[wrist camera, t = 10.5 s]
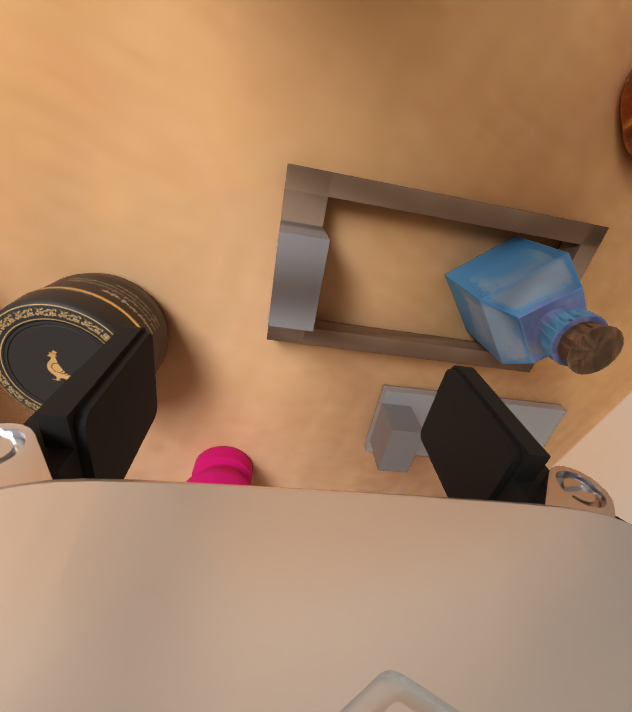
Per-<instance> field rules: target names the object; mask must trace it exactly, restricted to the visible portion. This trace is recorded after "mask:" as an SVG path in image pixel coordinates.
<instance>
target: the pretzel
mask: <svg viewBox="0 0 632 712" xmlns="http://www.w3.org/2000/svg"><path fill="white" fill-rule="evenodd" d="M620 112H621V122H622V128H623V130H622V134H623V141H624V144H625V146H626V149H627V151H628V152H629V154H630V155H631V156H632V70H631V72H630V74H629V76H628V77H627V81H626V83H625V85H624V89H623V93H622V98H621V107H620Z"/></svg>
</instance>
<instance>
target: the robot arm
mask: <svg viewBox="0 0 632 712" xmlns="http://www.w3.org/2000/svg"><path fill="white" fill-rule="evenodd" d="M156 412H157V394H156V378H155V362H154V346H153V336H152V334H151V333H147V332H146V329H145V328H142V327H134V326H126V325H123V326H121V327H120V328H119V329H118V330H117V331H116V332H115V333H114V334H113V335H112V336H111V337H110V338H109V339H108V340H107V341H106V343H105V344H104V345H103V346H102V347H101V348H100V349H99V350H98V351H97V352H96V353H95V354H94V355H93V356H92V357H91V358H90V359H89V360H88V361H87V362H86V363H85V364H84V365H83V366H81V367H80V368H78V369H77V370H76V371H75V372H74V373H73V374H72V375H71V376H70V377H69V378H68V379H67V380H66V381H65V382H64V383H63V384H62V385H61V386H60V387H59V388H58V389H57V390H56V391H55V392H54V393H53V394H52V395H51V396H50V398H49V399H48V400H47V401H46V402H45V403H44V404H43V405H42V406H41V407H40V408H39V409H38V410H37V411H36V412H35V413H34V414H33V415H32V416H31V417H30V418H29V419H28V420H27V421H26V422H25V423H24V424H23V425H22V424H15V423H2V424H0V712H632V524H630V523H627V522H625V521H624V520H622V519H620V518H619V517H617V516H615V509H614V504H613V501H612V499H611V497H610V496H609V494H608V493H607V492H606V491H605V490H604V489H603V488H602V487H601V486H600V485H599V484H598V483H597V482H595V481H594V480H593V479H591V478H590V477H588V476H586V475H585V474H583V473H581V472H579V471H576V470H574V469H572V468H568V467H564V466H555V467H553V468H551V469H550V471H549V469H548V468H547V467H546V466H545V464H546V463H547V462H548V460H549V459H550V457H551V456H550V455H549V454H548V453H547V452H546V451H545V449H544V448H543V447H542V446H541V445H540V444H539V443H538V441H537V440H536V439H535V438H534V437H533V436H532V435H531V433H530V432H529V431H528V430H527V429H526V428H525V427H524V425H523V424H522V423H521V422H520V421H519V420H518V418H517V417H516V416H515V415H514V414H513V413H512V412H511V410H510V409H509V408H508V407H507V406H506V405H505V404H504V402H503V401H502V400H501V399H500V398H499V397H498V396H497V394H496V393H495V392H494V391H493V390H492V389H491V388H490V386H489V385H488V384H487V383H486V382H485V381H484V379H483V378H482V377H481V376H480V375H479V374H478V373H477V371H476V370H475V369H474V368H472V367H464V366H453V367H452V368H451V369H448V370H447V371H446V373H445V375H444V377H443V380H442V382H441V384H440V387H439V389H438V391H437V394H436V396H435V398H434V401H433V403H432V405H431V408H430V410H429V412H428V415H427V417H426V419H425V422H424V424H423V426H422V429H421V433H420V435H421V441H422V443H423V445H424V447H425V449H426V451H427V454H428V456H429V458H430V460H431V462H432V464H433V466H434V468H435V471H436V473H437V475H438V477H439V479H440V481H441V483H442V486H443V488H444V490H445V492H446V494H447V496H448V498H447V497H432V496H417V495H402V494H385V493H369V492H353V491H336V490H319V489H302V488H285V487H266V486H248V485H229V484H211V483H192V482H173V481H155V480H130V479H124V478H125V476H126V474H127V472H128V470H129V468H130V466H131V464H132V462H133V460H134V458H135V456H136V454H137V452H138V450H139V448H140V446H141V444H142V442H143V440H144V438H145V436H146V434H147V432H148V430H149V428H150V426H151V424H152V422H153V420H154V418H155V416H156Z"/></svg>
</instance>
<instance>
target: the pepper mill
mask: <svg viewBox="0 0 632 712" xmlns="http://www.w3.org/2000/svg"><path fill="white" fill-rule="evenodd" d="M251 477H252V463H251V461H250V459H249V458H248V456H247V455H246V454H244V453H243V452H242V451H240V450H237V449H235V448H231V447H226V446H220V447H214V448H210V449H208V450H206V451H204V452H203V453H201V454H200V455H199V456H198V458H197V460H196V462H195V465H194V469H193V472H192V477H191V478H189V479H188V480H187V481H186V482H192V483H211V484H229V485H248V486H251V485H250V483H251Z"/></svg>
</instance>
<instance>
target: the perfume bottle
mask: <svg viewBox="0 0 632 712" xmlns="http://www.w3.org/2000/svg"><path fill="white" fill-rule="evenodd" d="M445 276H446V279H447V282H448V284H449V287H450V289H451V292H452V294H453V297H454V299H455V302H456V304H457V307H458V310H459V312H460V315H461V317H462V320H463V322H464V325H465V327H466V330H467V331H468V332H469V333H470V334H471V335H472V336H473V337H474V338H475V339H476V340H477V341H478V342H479V343H480V344H481V345H482V346H484V347H485V348H486V349H487V350H488V351H489V352H490V353H491V354H492V355H493V356H494V357H495V358H496V359H497V360H498V361H500V362H501V363H502V364H526V363H535V362H537V361H539V360H541V359H543V358H545V357H547V356H549V357H550V358H551V359H553V360H554V361H555V362H557V363H558V364H560V365H564V366H568V367H569V368H570V369H571V370H572V371H573V372H575V373H578V374H591V373H594V372H597V371H600V370H601V369H603V368H605V367H607V366H608V365H609V364H610V363H611V362H613V361H614V360H615V359H616V357H617V356H618V355H619V353H620V352H621V349H622V347H623V343H624V337H623V334H622V332H621V331H620V330H619V329H617V328H616V327H612V326H608V324H607V322H606V321H605V320H604V319H603V318H602V317H600V316H598V315H596V314H594V313H592V312H590V311H587V310H586V304H585V299H584V293H583V288H582V285H581V282H580V280H579V277H578V275H577V272H576V270H575V267H574V265H573V262H572V260H571V257H570V254H569V253H568V252H565V251H561V250H558V249H555V248H552V247H549V246H546V245H543V244H539V243H536V242H533V241H530V240H527V239H524V238H521V237H517V236H515V237H513V238H511V239H509V240H507V241H505V242H504V243H502V244H500V245H498V246H496V247H494V248H493V249H491V250H489V251H487V252H485V253H483V254H482V255H480V256H478V257H476V258H474V259H472V260H471V261H469V262H467V263H465V264H463V265H462V266H460V267H458V268H456V269H454V270H452V271H451V272H449V273H447V274H445Z"/></svg>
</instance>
